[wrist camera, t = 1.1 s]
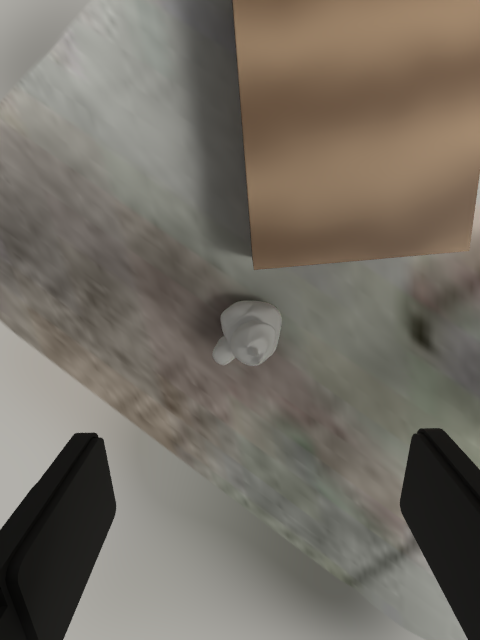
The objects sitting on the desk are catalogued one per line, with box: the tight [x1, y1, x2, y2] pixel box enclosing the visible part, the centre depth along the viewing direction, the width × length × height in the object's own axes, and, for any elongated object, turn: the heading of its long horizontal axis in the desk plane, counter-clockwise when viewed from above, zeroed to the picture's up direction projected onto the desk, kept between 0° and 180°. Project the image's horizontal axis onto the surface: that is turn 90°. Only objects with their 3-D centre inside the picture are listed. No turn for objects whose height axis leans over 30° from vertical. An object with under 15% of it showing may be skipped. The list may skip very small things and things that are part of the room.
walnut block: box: [232, 0, 480, 270], centre depth 21 cm, size 18×14×6 cm
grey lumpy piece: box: [213, 301, 282, 366], centre depth 25 cm, size 5×7×8 cm
